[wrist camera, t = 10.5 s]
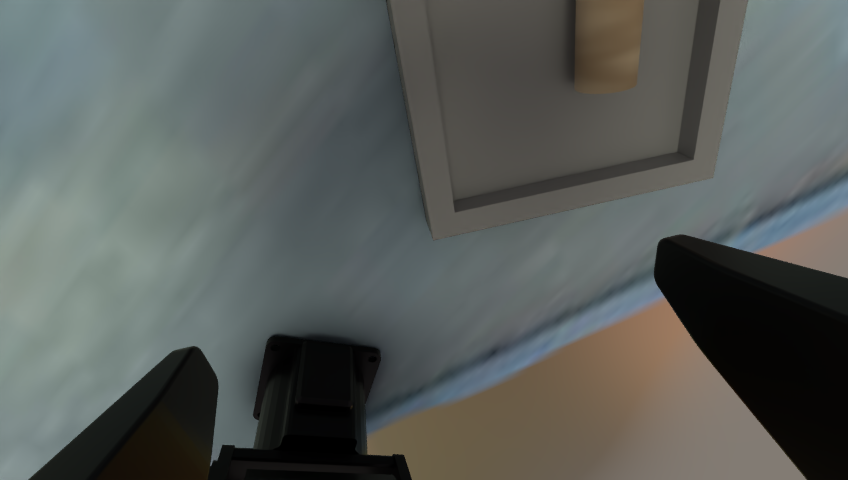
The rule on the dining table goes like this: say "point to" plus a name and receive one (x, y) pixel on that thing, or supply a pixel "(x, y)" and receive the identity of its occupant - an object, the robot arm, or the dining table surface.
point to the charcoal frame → (555, 106)
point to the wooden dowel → (607, 45)
